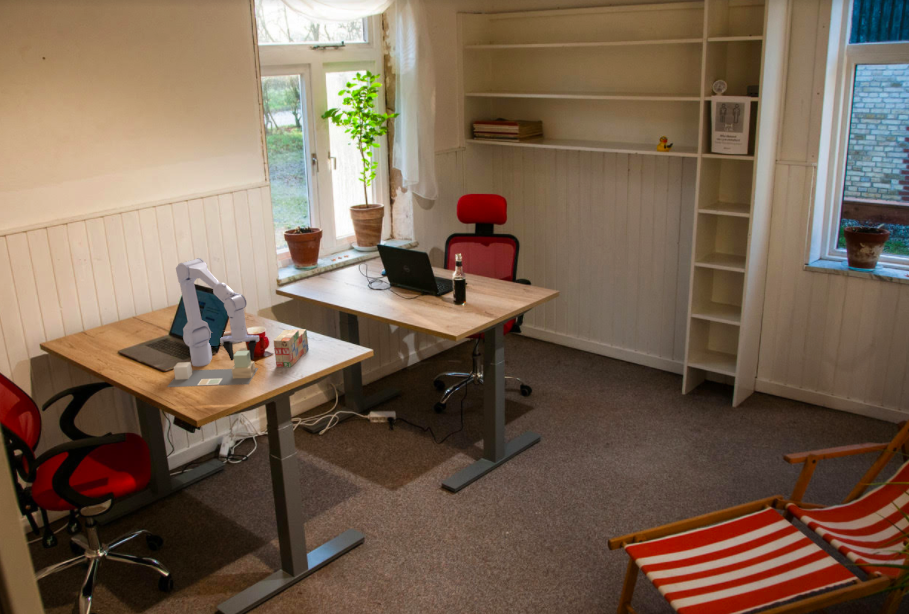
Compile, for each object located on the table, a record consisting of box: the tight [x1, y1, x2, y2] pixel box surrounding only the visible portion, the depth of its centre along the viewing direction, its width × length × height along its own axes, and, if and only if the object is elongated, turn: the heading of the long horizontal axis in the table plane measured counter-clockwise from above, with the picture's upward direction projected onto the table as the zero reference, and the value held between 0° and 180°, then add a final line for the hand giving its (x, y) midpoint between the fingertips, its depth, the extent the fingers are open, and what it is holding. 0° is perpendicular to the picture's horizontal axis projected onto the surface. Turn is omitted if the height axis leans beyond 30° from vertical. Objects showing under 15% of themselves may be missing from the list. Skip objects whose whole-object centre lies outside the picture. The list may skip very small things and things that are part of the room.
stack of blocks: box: [273, 328, 309, 368], centre depth 317 cm, size 21×6×12 cm, turn 171°
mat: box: [166, 367, 259, 388], centre depth 301 cm, size 16×31×1 cm, turn 90°
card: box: [196, 378, 222, 387], centre depth 297 cm, size 6×8×1 cm
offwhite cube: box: [173, 361, 193, 380], centre depth 302 cm, size 5×5×5 cm
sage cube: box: [233, 350, 252, 368], centre depth 301 cm, size 5×5×5 cm
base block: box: [231, 360, 256, 379], centre depth 302 cm, size 7×7×4 cm
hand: (242, 359), depth 301 cm, fingers open, 7 cm apart
